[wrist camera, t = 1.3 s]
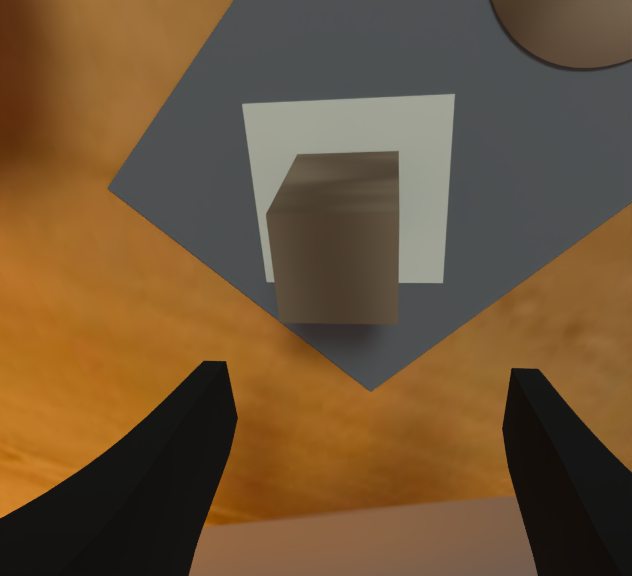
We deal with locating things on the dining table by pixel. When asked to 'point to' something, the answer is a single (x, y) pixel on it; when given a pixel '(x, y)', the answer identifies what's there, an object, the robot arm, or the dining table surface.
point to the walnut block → (337, 239)
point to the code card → (364, 136)
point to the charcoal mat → (392, 81)
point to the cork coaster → (571, 30)
